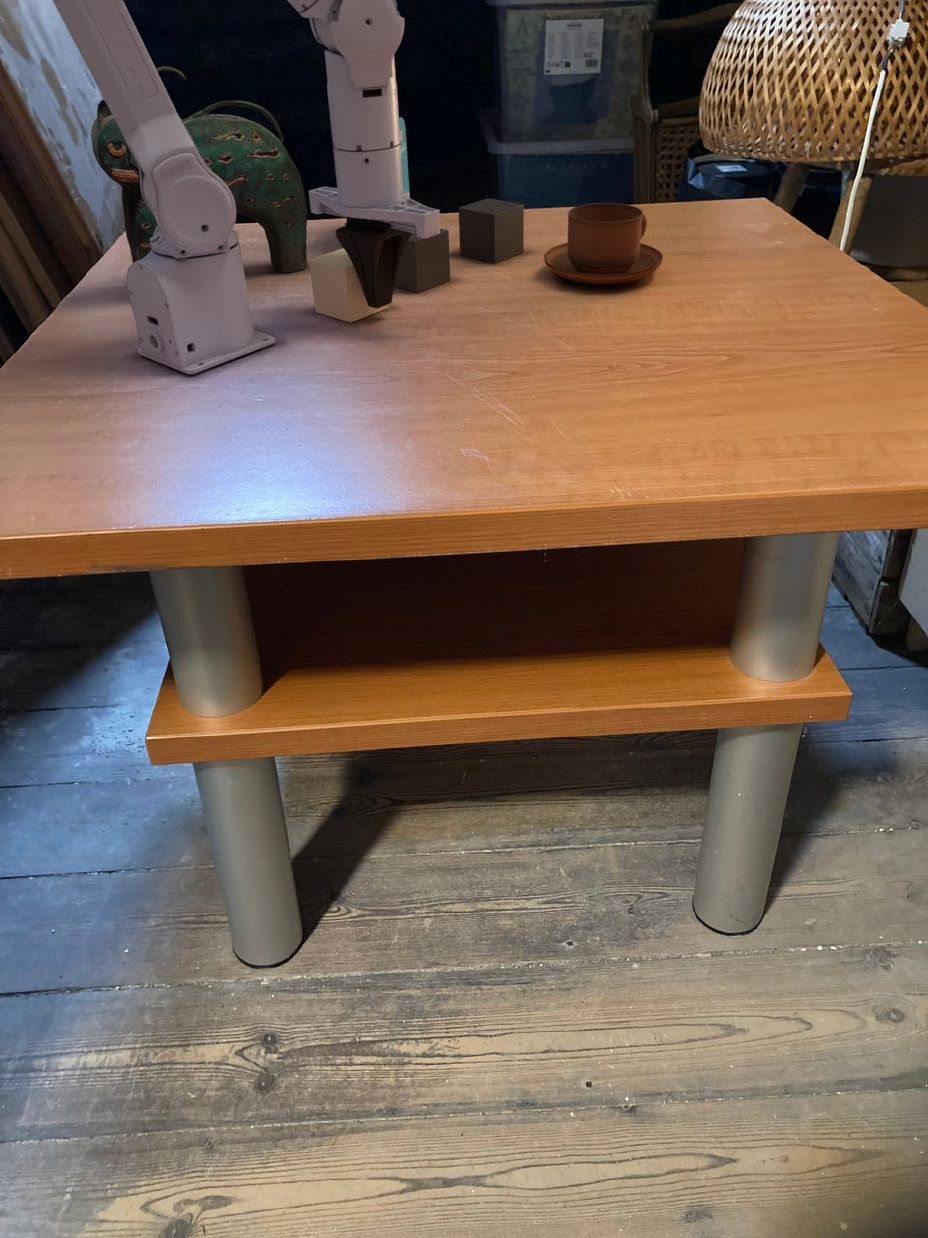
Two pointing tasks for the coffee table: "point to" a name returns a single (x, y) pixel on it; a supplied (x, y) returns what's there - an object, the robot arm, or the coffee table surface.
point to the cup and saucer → (604, 246)
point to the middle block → (424, 262)
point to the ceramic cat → (233, 155)
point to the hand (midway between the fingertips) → (380, 304)
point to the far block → (491, 230)
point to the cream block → (338, 288)
